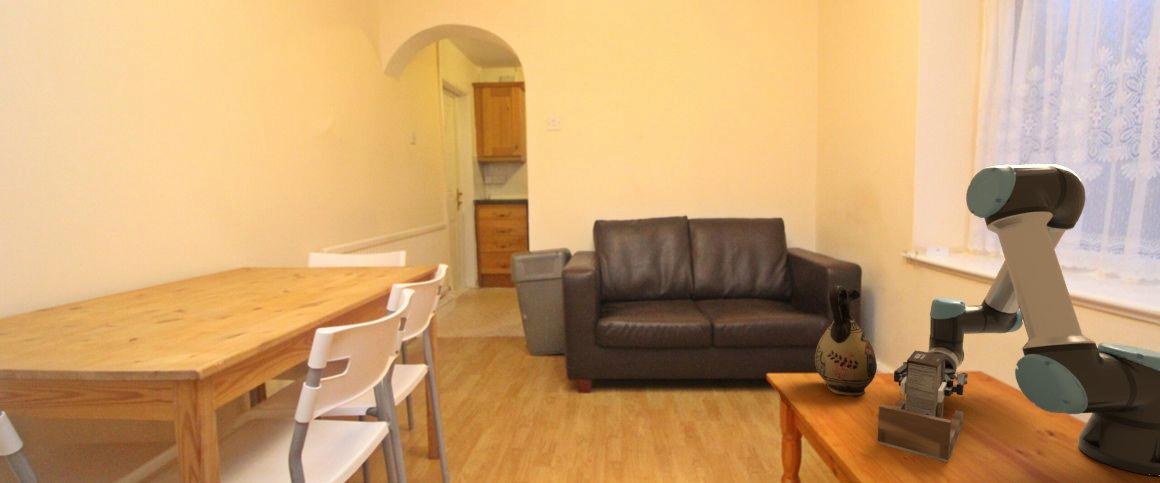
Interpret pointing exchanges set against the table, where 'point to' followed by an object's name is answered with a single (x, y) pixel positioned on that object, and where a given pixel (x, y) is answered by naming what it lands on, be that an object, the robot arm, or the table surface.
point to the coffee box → (924, 383)
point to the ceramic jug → (845, 349)
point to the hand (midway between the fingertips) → (920, 392)
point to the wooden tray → (918, 431)
